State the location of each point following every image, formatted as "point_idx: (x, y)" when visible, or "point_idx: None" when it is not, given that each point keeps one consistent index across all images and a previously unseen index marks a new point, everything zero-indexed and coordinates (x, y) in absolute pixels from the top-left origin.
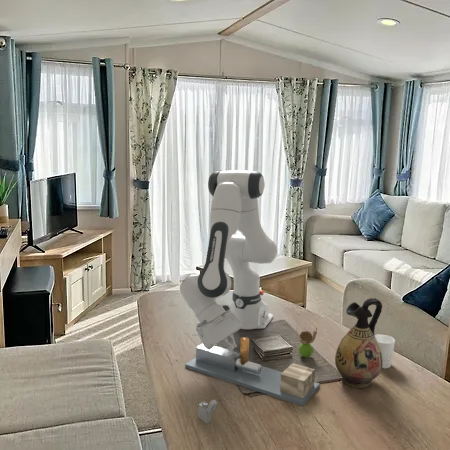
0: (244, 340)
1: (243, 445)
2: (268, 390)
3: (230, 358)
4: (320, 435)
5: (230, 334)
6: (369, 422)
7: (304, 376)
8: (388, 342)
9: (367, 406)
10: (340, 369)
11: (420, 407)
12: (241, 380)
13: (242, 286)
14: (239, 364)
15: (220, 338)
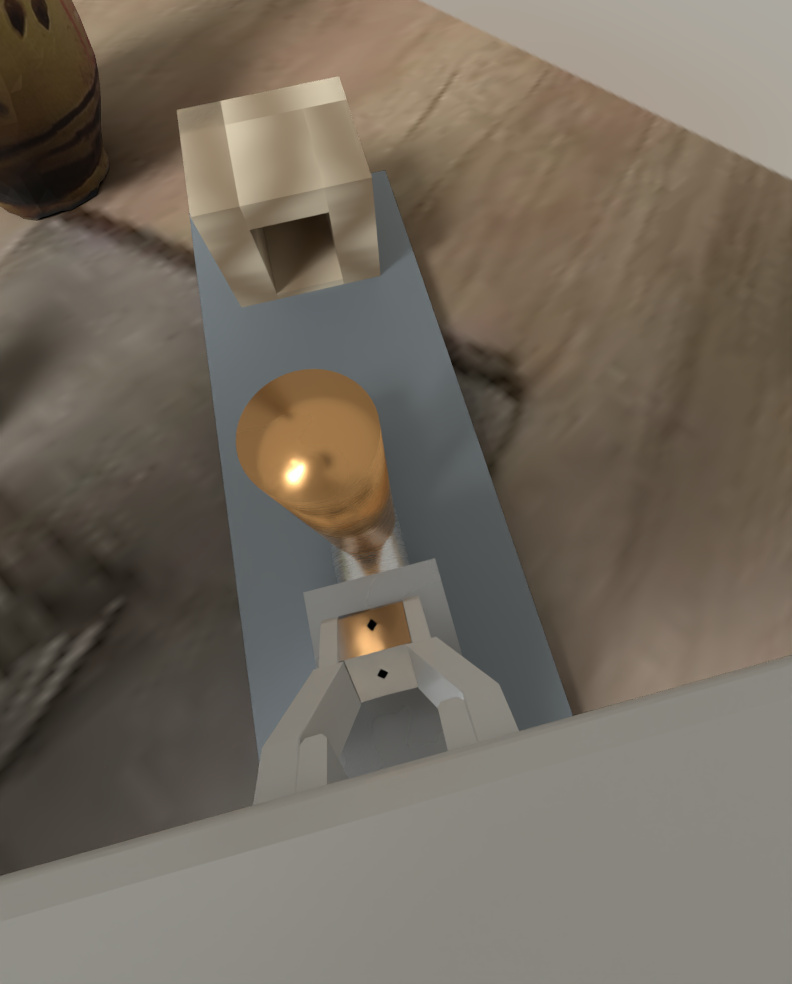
0: (358, 395)
1: (763, 166)
2: (424, 307)
3: (446, 599)
4: (486, 74)
5: (324, 786)
6: (300, 38)
7: (292, 99)
8: None
9: (212, 77)
10: (69, 84)
11: (106, 4)
12: (462, 464)
13: None
14: (400, 534)
15: (696, 727)
